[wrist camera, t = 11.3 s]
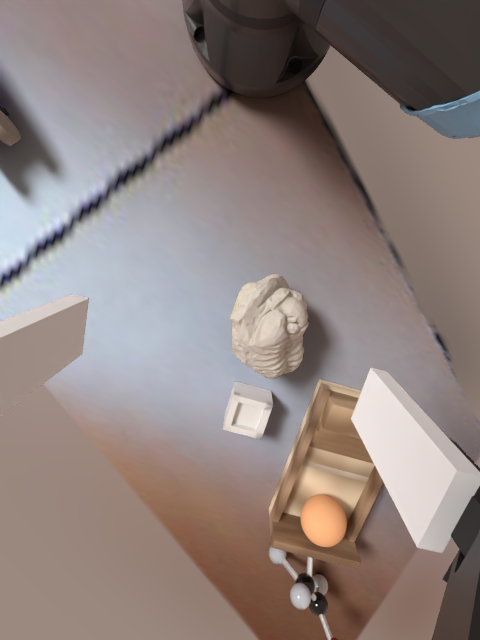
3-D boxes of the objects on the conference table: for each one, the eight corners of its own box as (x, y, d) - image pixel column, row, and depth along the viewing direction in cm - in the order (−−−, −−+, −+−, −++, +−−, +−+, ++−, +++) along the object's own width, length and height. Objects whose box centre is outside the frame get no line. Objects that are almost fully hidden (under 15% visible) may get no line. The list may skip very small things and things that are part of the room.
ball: (292, 506, 48) (307, 480, 45) (331, 516, 49) (349, 491, 46) (295, 550, 43) (312, 524, 40) (339, 561, 43) (359, 536, 40)
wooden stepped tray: (319, 378, 44) (330, 402, 38) (404, 402, 44) (428, 429, 38) (268, 509, 49) (271, 547, 43) (344, 528, 50) (358, 569, 44)
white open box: (235, 381, 44) (233, 394, 40) (271, 391, 44) (273, 405, 41) (224, 413, 45) (222, 429, 42) (260, 422, 45) (261, 439, 42)
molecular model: (313, 522, 50) (330, 597, 39) (347, 575, 52) (371, 660, 42) (265, 542, 51) (269, 621, 41) (301, 594, 54) (313, 680, 43)
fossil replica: (300, 361, 43) (314, 399, 33) (236, 363, 43) (232, 401, 34) (301, 268, 40) (317, 280, 30) (232, 270, 40) (226, 283, 31)
